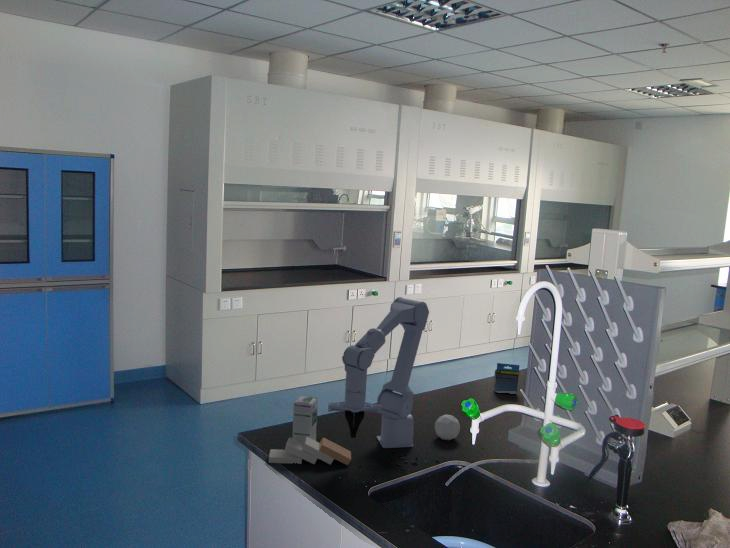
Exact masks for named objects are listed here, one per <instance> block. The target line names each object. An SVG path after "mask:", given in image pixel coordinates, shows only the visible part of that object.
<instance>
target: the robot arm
mask: <svg viewBox="0 0 730 548" xmlns="http://www.w3.org/2000/svg"><path fill="white" fill-rule="evenodd" d="M389 309H390V310H389V312H388V314H387V315H386V316H385V317H384V318H383V320H382V321H381V322H380V323H379V325H378V326H377V327H376V328H375V327H373V328H370V329H368V330H367V332H365V334H364V335H363V336H362V337H360V339H359V340H358V341H357V342H356V343H355V344H353V345H350V346H349V345H348V346H347V347H346V348H345V350H344V352H343V354H342V356H341V359H342V363H343V364H344V371H345V387H344V391H345V392H344V401H336V402H328V406H327V407H328V408H327V412H328V413H329V412H330V413H331V412H344V417H345V419H346V422H347V424H348V425H347V426H348V428H349V431H350V438H352V439H353V438H354V439H355V438H356V437H357V433H358V430H359V428H360V425H361V423H362V421H363V420H364V418H365V413H377V414H381V425H380V426H381V427H380V428H381V429H380V435H376V439H377V440H378V443H379V445H380V446H381V447H382V448H383V449H392V448H393V449H397V448H414V444H413V443H414V442H413V441H414V432H415V431H414V430H415V423H414V417H413V415H412V413H411V412H412V411H413V408H414V403H413V402H414V397H415V396H414V395H415V394H414V392H413V390H412V389H411V387H410V386H409V382H410V379H411V375H412V373H413V368H414V365H415V360H416V356H417V354H418V349H419V345H420V342H421V339H422V335H423V331H425V329H426V325H427V321H428V318H429V314H430V310H429V307H428V305H427V303H426V302H425V301H418V300H413V299H408V298H404V297H401V296H399V297H396V298H395V299H394V301H393V302H391V304H390V308H389ZM399 325H401V326H402V328H403V331H404V332H403V335H402V340H401V343H400V346H399V351H398V353H397V358H396V361H395V365H394V369H393V373H392V377H391V380H390V381H388V382H386V383H384V384H383V385H382V388H381V390H380V392H379V394H378V396H377V399H376V403H372V402H366V395H367V394H366V393H367V380H368V378H367V377H368V369H369V368H370V367H371V365H372V363H373V361H374V358H375V356H376V353H377V352H379V350H380V349H381V348H382V347H383V346H384V345H385V344H386V337H387V336H388V335H389V334H390V333H391V332H392V331H393V330H394V329H395V328H397V327H398V326H399Z"/></svg>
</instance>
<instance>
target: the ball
mask: <svg viewBox="0 0 730 548" xmlns="http://www.w3.org/2000/svg"><path fill="white" fill-rule="evenodd" d="M434 430H435V433H436V435H437V437H439V438H441V440H445V441H451V440H453V439H456V437H457V436H458V435H459V434H460V430H461V425H460V423H459V420H458V419H457V418H456V417H455V416H453V414H452V415H450V414H446V413H445V414H444V415H441V416H439V417H438V418H437V420H436V421H435V423H434Z"/></svg>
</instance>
